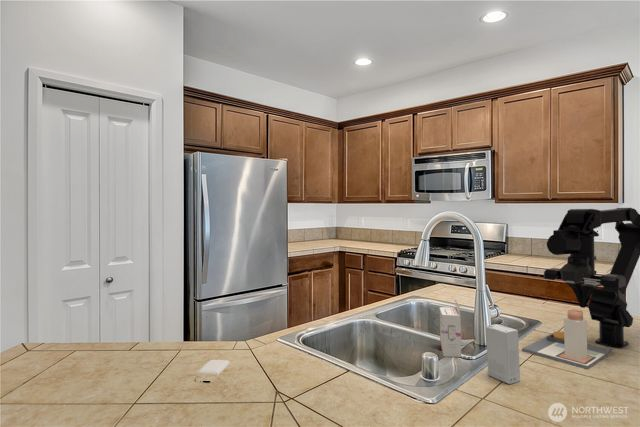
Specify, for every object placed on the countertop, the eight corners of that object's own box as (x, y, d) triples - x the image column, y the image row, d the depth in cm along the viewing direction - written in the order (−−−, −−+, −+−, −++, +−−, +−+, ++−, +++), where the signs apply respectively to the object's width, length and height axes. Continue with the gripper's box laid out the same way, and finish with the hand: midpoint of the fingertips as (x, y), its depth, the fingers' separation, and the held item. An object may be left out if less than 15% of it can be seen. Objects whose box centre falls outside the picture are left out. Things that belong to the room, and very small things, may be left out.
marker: (573, 353, 103) (572, 309, 103) (587, 357, 99) (586, 312, 99) (564, 355, 101) (564, 310, 101) (578, 360, 98) (577, 314, 98)
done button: (557, 335, 116) (557, 330, 116) (573, 339, 112) (573, 334, 112) (550, 338, 113) (550, 333, 113) (567, 342, 110) (567, 337, 110)
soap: (209, 368, 101) (209, 357, 101) (233, 369, 100) (233, 358, 100) (193, 383, 92) (192, 371, 92) (219, 384, 91) (219, 372, 91)
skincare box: (521, 381, 89) (520, 329, 89) (508, 385, 87) (507, 332, 87) (498, 371, 94) (497, 323, 94) (485, 375, 93) (485, 325, 92)
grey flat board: (550, 337, 118) (550, 331, 118) (612, 352, 105) (612, 345, 105) (522, 350, 108) (522, 343, 108) (587, 369, 95) (587, 361, 95)
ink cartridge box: (439, 345, 113) (438, 296, 113) (456, 346, 112) (456, 297, 112) (442, 356, 104) (442, 303, 104) (461, 357, 103) (461, 304, 103)
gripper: (533, 252, 111) (534, 305, 111) (609, 258, 96) (610, 320, 96) (552, 249, 117) (553, 299, 118) (626, 254, 102) (627, 312, 102)
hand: (582, 307), depth 108 cm, fingers closed
